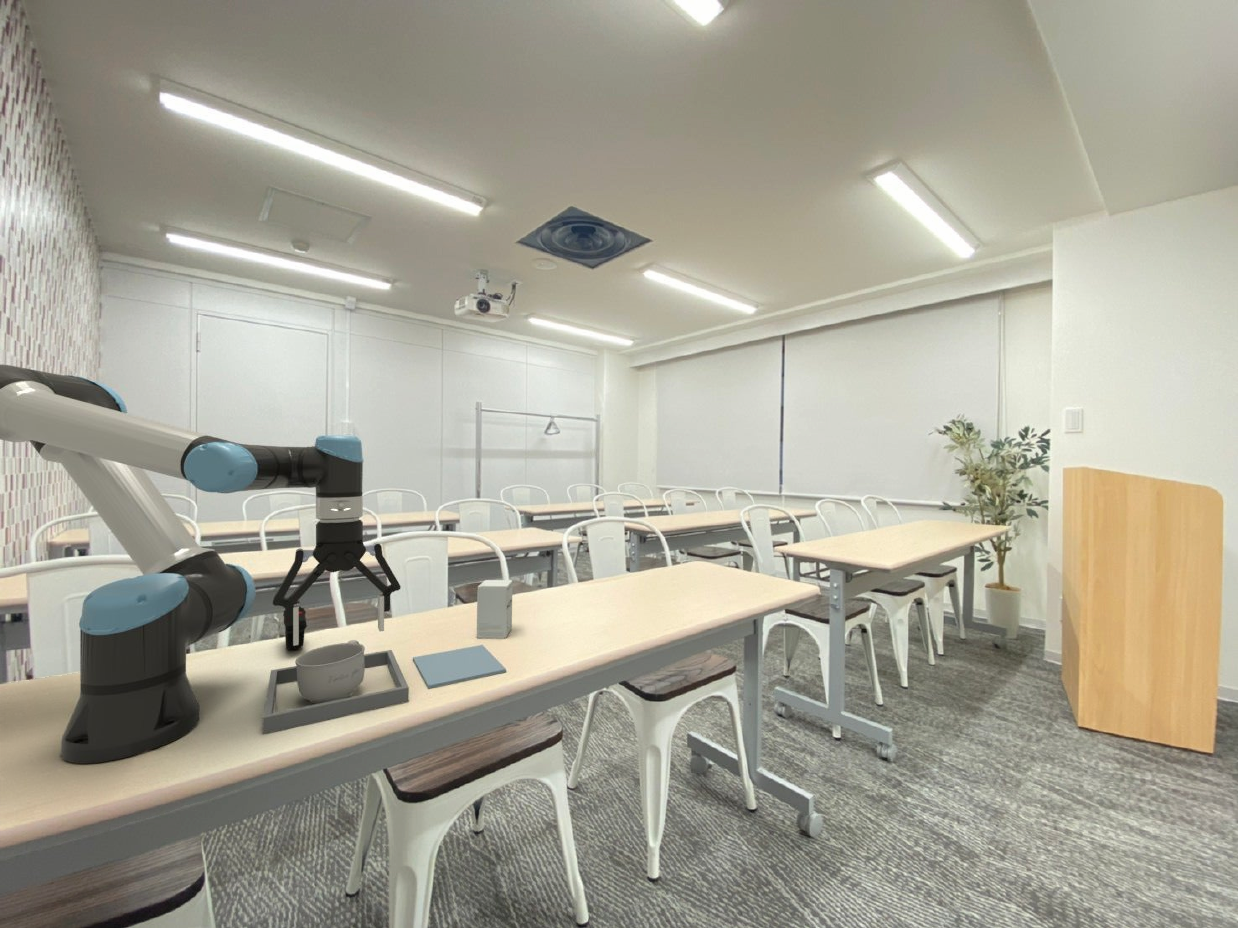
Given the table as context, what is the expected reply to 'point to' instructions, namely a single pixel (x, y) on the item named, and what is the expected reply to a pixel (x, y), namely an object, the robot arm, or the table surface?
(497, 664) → the mat
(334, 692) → the teacup
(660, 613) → the table surface
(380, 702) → the gray rectangular frame
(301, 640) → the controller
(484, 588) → the supplement box
